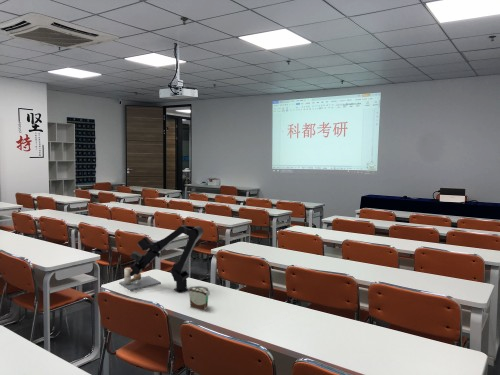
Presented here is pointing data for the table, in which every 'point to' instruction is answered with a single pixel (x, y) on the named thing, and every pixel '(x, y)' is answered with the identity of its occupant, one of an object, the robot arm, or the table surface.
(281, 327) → the table surface
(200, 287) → the food container
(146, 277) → the grey flat slab
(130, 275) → the tuning peg
